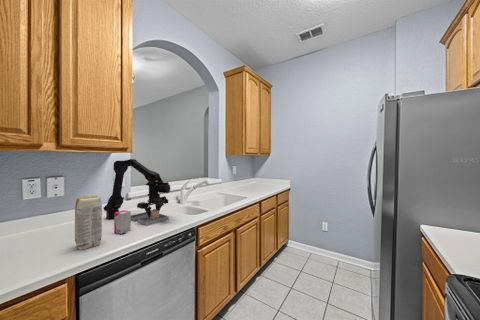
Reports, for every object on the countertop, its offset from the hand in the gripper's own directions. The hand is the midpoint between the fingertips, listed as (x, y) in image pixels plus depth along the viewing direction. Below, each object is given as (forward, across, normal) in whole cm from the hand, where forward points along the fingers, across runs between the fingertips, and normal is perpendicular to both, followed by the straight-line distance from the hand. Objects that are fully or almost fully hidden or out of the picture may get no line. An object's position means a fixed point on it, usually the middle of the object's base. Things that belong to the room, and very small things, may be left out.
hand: (153, 216), depth 124 cm
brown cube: (+1, 0, 0) cm, 1 cm away
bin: (+4, 0, +13) cm, 13 cm away
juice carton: (+4, -37, -6) cm, 38 cm away
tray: (+3, 0, 0) cm, 3 cm away
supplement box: (+4, -20, -2) cm, 20 cm away
